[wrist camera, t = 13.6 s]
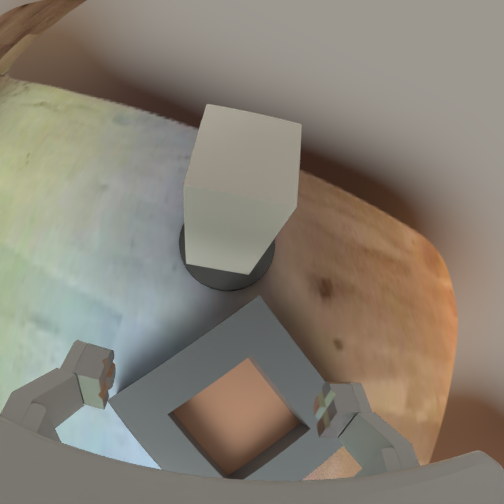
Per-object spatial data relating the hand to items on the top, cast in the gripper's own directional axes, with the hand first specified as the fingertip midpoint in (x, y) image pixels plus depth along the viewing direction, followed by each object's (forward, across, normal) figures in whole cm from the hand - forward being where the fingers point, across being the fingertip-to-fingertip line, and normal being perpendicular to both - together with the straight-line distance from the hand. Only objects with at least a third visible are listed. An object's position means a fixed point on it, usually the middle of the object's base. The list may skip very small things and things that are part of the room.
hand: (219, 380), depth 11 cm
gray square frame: (+5, -2, +10) cm, 11 cm away
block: (+13, 0, 0) cm, 13 cm away
